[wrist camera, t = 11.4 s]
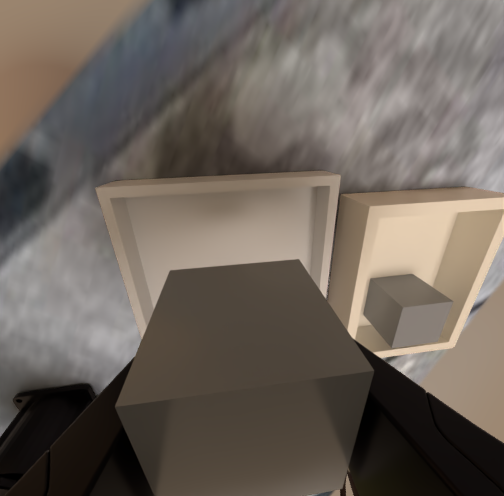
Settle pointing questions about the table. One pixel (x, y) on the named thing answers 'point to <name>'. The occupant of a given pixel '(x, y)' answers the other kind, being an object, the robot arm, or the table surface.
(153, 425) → the slate cube
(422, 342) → the slate cube
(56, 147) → the table surface
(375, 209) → the cream storage tray
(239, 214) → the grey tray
